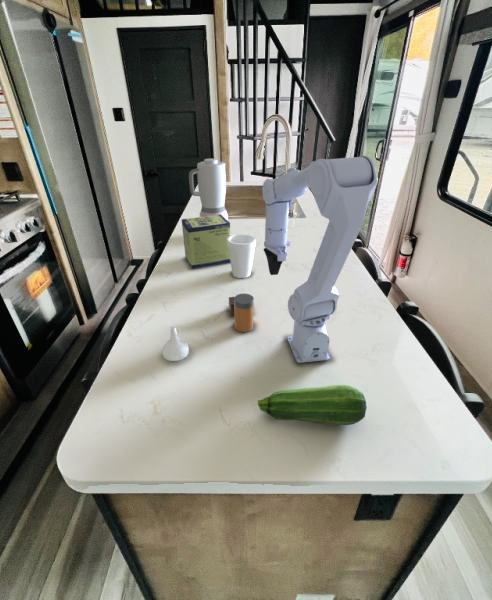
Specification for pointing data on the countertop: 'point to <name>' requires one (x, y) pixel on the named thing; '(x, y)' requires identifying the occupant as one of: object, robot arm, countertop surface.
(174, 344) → the garlic bulb
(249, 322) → the orange and grey block
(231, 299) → the prop block
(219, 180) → the blender
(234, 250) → the foam cup
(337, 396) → the vegetable
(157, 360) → the countertop surface
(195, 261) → the protein box
